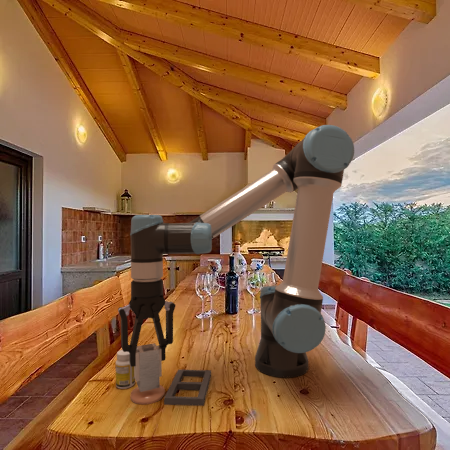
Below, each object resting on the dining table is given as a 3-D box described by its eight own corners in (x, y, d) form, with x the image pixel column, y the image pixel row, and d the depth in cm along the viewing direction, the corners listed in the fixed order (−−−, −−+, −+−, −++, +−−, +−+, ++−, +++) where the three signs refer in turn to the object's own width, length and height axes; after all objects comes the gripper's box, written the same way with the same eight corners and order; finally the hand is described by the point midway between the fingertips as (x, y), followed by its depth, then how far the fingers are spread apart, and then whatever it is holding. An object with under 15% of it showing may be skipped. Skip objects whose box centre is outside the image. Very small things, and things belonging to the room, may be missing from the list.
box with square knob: (155, 379, 79) (154, 341, 79) (159, 387, 75) (159, 347, 75) (136, 383, 77) (136, 344, 77) (140, 392, 73) (139, 351, 73)
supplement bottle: (128, 378, 84) (128, 346, 85) (138, 383, 81) (138, 351, 82) (111, 385, 81) (111, 352, 81) (122, 391, 78) (122, 357, 78)
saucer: (168, 387, 79) (168, 384, 79) (159, 404, 71) (159, 401, 71) (137, 386, 80) (137, 383, 80) (125, 403, 72) (125, 400, 72)
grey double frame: (211, 375, 85) (211, 370, 85) (203, 405, 71) (203, 399, 71) (178, 375, 86) (178, 369, 86) (164, 404, 72) (164, 397, 72)
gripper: (177, 274, 83) (178, 363, 83) (106, 279, 76) (107, 377, 75) (187, 278, 77) (187, 375, 76) (110, 284, 69) (110, 392, 69)
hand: (147, 376), depth 76 cm, fingers closed on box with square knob, 4 cm apart
